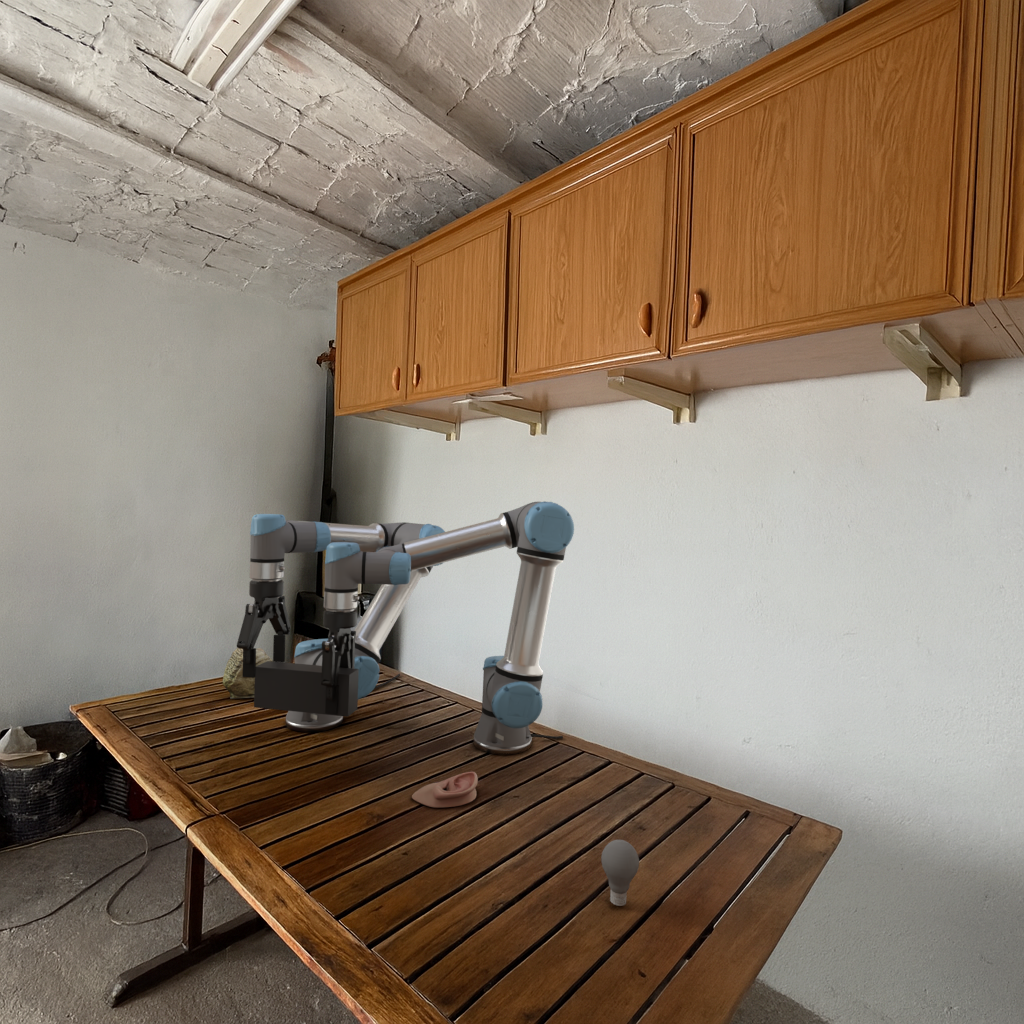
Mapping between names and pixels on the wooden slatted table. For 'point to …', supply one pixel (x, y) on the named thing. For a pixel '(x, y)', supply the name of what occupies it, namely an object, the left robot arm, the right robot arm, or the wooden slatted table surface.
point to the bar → (302, 688)
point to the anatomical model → (449, 791)
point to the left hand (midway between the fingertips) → (264, 669)
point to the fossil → (241, 674)
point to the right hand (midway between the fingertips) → (337, 708)
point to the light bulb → (619, 868)
